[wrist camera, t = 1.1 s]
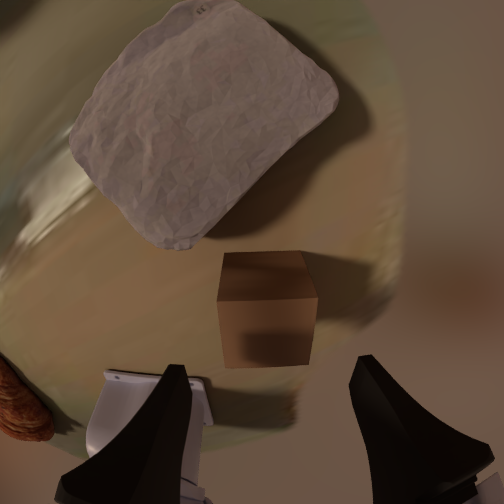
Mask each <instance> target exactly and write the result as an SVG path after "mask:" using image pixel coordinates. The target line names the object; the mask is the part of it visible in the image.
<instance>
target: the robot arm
mask: <svg viewBox="0 0 504 504" xmlns="http://www.w3.org/2000/svg"><path fill="white" fill-rule="evenodd" d="M104 376H105V378H106V381H105V384H104V386H103V389H102V391H101V393H100V396H99V398H98V401H97V403H96V406H95V408H94V411H93V413H92V416H91V419H90V421H89V424H88V427H87V432H86V447H87V451H88V454H89V456H90V458H89V459H88V460H87V461H85V462H84V463H83V464H81V465H80V466H78V467H76V468H75V469H73V470H71V471H70V472H68V473H66V474H64V475H62V476H61V479H60V481H59V484H58V487H57V491H56V495H55V498H54V500H55V501H56V502H57V503H59V504H213V503H212V501H211V500H210V499H209V498H207V497H205V496H204V495H205V489H204V488H201V487H198V486H197V484H198V473H199V462H200V451H201V441H202V431H203V426H212V425H213V423H214V421H213V417H212V413H211V410H210V406H209V402H208V399H207V395H206V391H205V387H204V383H203V381H202V380H201V379H199V378H188V376H187V373H186V370H185V366H184V365H177V364H170V365H168V367H167V368H166V370H165V372H164V373H163V375H162V376H153V375H143V374H133V373H125V372H117V371H110V370H105V372H104ZM349 390H350V396H351V400H352V405H353V408H354V412H355V415H356V418H357V421H358V424H359V427H360V430H361V433H362V436H363V439H364V442H365V446H366V450H367V454H368V460H369V465H370V472H371V480H372V491H373V504H504V487H503V484H502V482H501V479H500V476H499V474H498V472H496V473H494V474H493V475H492V476H490V477H489V478H487V479H486V480H484V481H483V482H481V483H480V484H478V485H477V486H475V483H474V482H476V481H477V477H476V474H477V473H479V472H480V471H482V470H483V469H484V468H486V467H487V466H488V465H490V464H491V463H492V462H493V461H494V459H495V457H494V455H493V453H492V451H491V448H490V446H489V445H488V444H486V443H484V442H481V441H478V440H476V439H473V438H471V437H469V436H467V435H465V434H463V433H460V432H458V431H457V430H455V429H453V428H452V427H450V426H448V425H447V424H445V423H444V422H442V421H440V420H439V419H438V418H436V417H435V416H434V415H432V414H431V413H430V412H428V411H427V410H426V409H424V408H423V407H422V406H421V405H420V404H419V403H418V402H417V401H415V400H414V399H413V398H412V397H411V396H410V395H409V394H408V393H407V392H406V391H405V390H404V389H403V388H402V387H401V386H400V385H399V384H398V383H397V382H396V381H395V380H394V379H393V377H392V376H391V375H390V374H389V373H388V372H387V371H386V370H385V369H384V368H383V366H382V365H381V364H380V363H379V362H378V361H377V360H376V359H375V358H374V357H373V356H372V355H364V356H359V357H358V360H357V363H356V366H355V369H354V372H353V374H352V377H351V380H350V383H349Z"/></svg>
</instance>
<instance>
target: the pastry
mask: <svg viewBox="0 0 504 504" xmlns="http://www.w3.org/2000/svg"><path fill="white" fill-rule="evenodd" d="M52 417H53V416H52V412H51V411H49V409H48V408H47V407H46V406H45V405H44V404H43V403H42V402H41V401H40V399H39V398H38V396H37V395H36V394H34V393H33V392H32V391H31V390H30V389H29V388H28V386H26V385H25V384H24V383H23V382H22V381H21V380H20V379H19V377H18V376H17V374H16V373H15V371H14V370H13V369H12V368H11V367H10V366H9V365H8V363H6V361H5V360H4V359H3V358H2V357H1V356H0V429H1V430H2V431H3V432H4V433H6V434H7V435H9V436H10V437H13V438H16V439H19V440H24V441H37V442H40V441H48V440H50V439H51V438H52V437H53V435H54V424H53V420H52Z"/></svg>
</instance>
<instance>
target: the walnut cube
mask: <svg viewBox="0 0 504 504" xmlns="http://www.w3.org/2000/svg"><path fill="white" fill-rule="evenodd" d="M317 306H318V295H317V292H316V290H315V287H314V285H313V282H312V279H311V277H310V274H309V272H308V269H307V267H306V264H305V261H304V259H303V256H302V254H301V251H300V250H297V251H265V252H232V253H224V258H223V264H222V271H221V277H220V283H219V290H218V296H217V308H218V317H219V325H220V333H221V340H222V348H223V355H224V363H225V368H264V367H283V366H298V365H309V360H310V354H311V347H312V341H313V334H314V328H315V320H316V313H317Z"/></svg>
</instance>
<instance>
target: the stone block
mask: <svg viewBox="0 0 504 504" xmlns="http://www.w3.org/2000/svg"><path fill="white" fill-rule="evenodd" d="M338 102H339V91H338V88H337V85H336V83H335V81H334V80H333V79H332V77H331V76H330V75H329V74H328V73H327V72H326V71H325V70H323V69H321V68H320V67H318V66H317V64H316V63H315V62H314V61H313V60H312V59H311V58H309V57H307V56H306V55H304V54H303V53H302V52H301V51H299V50H298V49H297V48H296V47H295V46H294V45H293V44H292V43H290V42H289V41H288V40H287V39H286V38H285V37H284V36H283V35H281V34H280V33H279V32H278V31H276V30H275V29H274V28H273V27H272V26H270V25H269V24H268V23H267V22H266V21H265V20H264V19H262V18H261V17H259V16H257V15H256V14H255V13H253V12H252V11H250V10H249V9H248V8H246V7H245V6H243V5H242V4H241V3H239V2H236V1H234V0H186V1H183V2H179V3H177V4H176V5H174V6H173V7H171V9H170V10H169V11H168V12H167V14H166V15H165V16H164V17H163V19H161V20H160V21H159V22H158V23H156V24H155V25H153V26H150V27H148V28H146V29H145V30H144V31H142V32H141V33H140V34H139V35H138V36H137V37H136V38H135V39H134V40H132V41H131V42H130V43H129V44H128V45H127V46H126V48H125V49H124V50H123V52H122V53H121V54H120V55H119V58H118V59H117V60H116V61H115V62H114V63H113V64H112V65H111V66H110V67H109V68H108V69H107V70H106V71H105V73H104V74H103V76H102V78H101V79H100V80H99V82H98V83H97V85H96V87H95V89H94V92H93V95H92V97H91V98H90V99H89V100H87V101H86V102H85V104H84V107H83V109H82V111H81V112H80V114H79V116H78V118H77V120H76V122H75V124H74V126H73V128H72V130H71V133H70V137H69V145H70V146H71V147H70V149H71V152H72V154H73V157H74V159H75V161H76V162H77V163H78V164H79V165H80V166H81V167H82V168H83V169H84V171H85V172H86V174H87V175H88V176H89V178H90V179H91V180H92V182H93V183H94V184H95V185H96V187H97V188H98V189H99V190H100V191H101V192H102V194H103V195H104V196H105V197H106V198H108V199H109V200H111V201H112V202H113V203H114V204H115V205H116V206H117V207H118V208H119V209H120V211H121V212H122V214H123V215H124V216H125V218H126V219H127V221H128V222H129V223H130V224H131V225H132V226H133V228H134V229H135V230H136V231H137V232H138V233H139V234H140V235H141V236H142V237H143V238H144V239H146V240H147V241H149V242H150V243H152V244H153V245H155V246H156V247H157V248H163V249H168V250H169V249H175V250H177V251H180V250H188V249H191V248H192V247H193V246H194V245H195V244H196V243H197V242H198V241H199V240H200V239H201V238H202V237H203V236H204V235H205V234H206V233H207V232H208V231H209V230H211V229H212V228H213V227H214V226H215V225H216V224H217V222H218V221H219V220H220V219H221V218H222V217H223V216H224V215H225V214H226V213H227V212H228V211H229V210H230V209H231V208H232V207H233V206H234V205H235V204H236V203H237V202H238V201H239V200H240V199H241V198H242V197H243V196H244V195H245V194H246V193H247V191H248V190H249V189H250V188H251V187H252V186H253V185H254V184H255V183H256V182H257V181H258V180H259V179H260V177H261V176H262V175H263V174H264V173H265V172H266V171H267V170H268V169H269V168H270V167H271V166H272V165H273V164H274V163H275V162H276V161H277V160H278V159H279V158H280V157H281V156H282V155H283V154H285V153H286V152H287V151H288V150H289V149H290V148H292V147H293V146H294V145H295V144H296V143H297V142H298V141H299V140H300V139H301V138H303V137H304V136H305V135H307V134H308V133H309V132H311V131H312V130H313V129H315V128H316V127H317V126H319V125H320V124H321V123H322V122H323V121H324V120H325V119H326V118H327V117H329V116H330V115H331V114H332V113H333V112H334V111H335V109H336V107H337V105H338Z"/></svg>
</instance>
